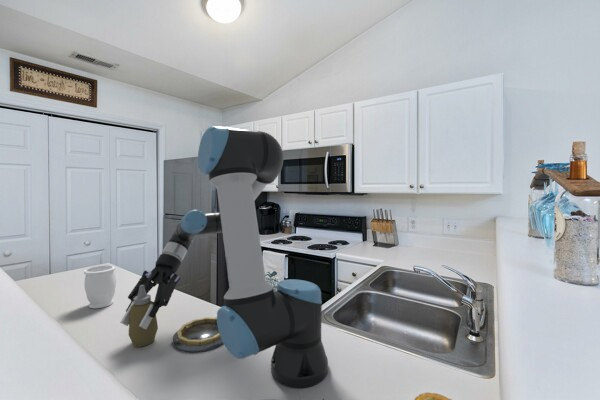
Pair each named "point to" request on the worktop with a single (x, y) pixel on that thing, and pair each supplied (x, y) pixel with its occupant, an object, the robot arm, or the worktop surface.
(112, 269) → the jar
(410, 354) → the worktop surface
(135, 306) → the squeeze bottle
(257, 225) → the robot arm
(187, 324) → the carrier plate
